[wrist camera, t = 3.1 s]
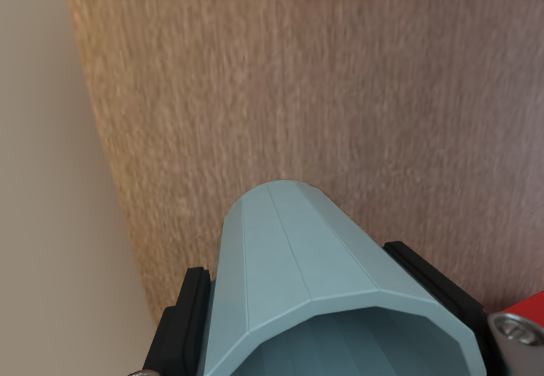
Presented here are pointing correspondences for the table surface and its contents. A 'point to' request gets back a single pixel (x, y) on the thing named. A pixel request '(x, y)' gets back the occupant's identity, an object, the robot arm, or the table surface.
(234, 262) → the container
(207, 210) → the table surface
